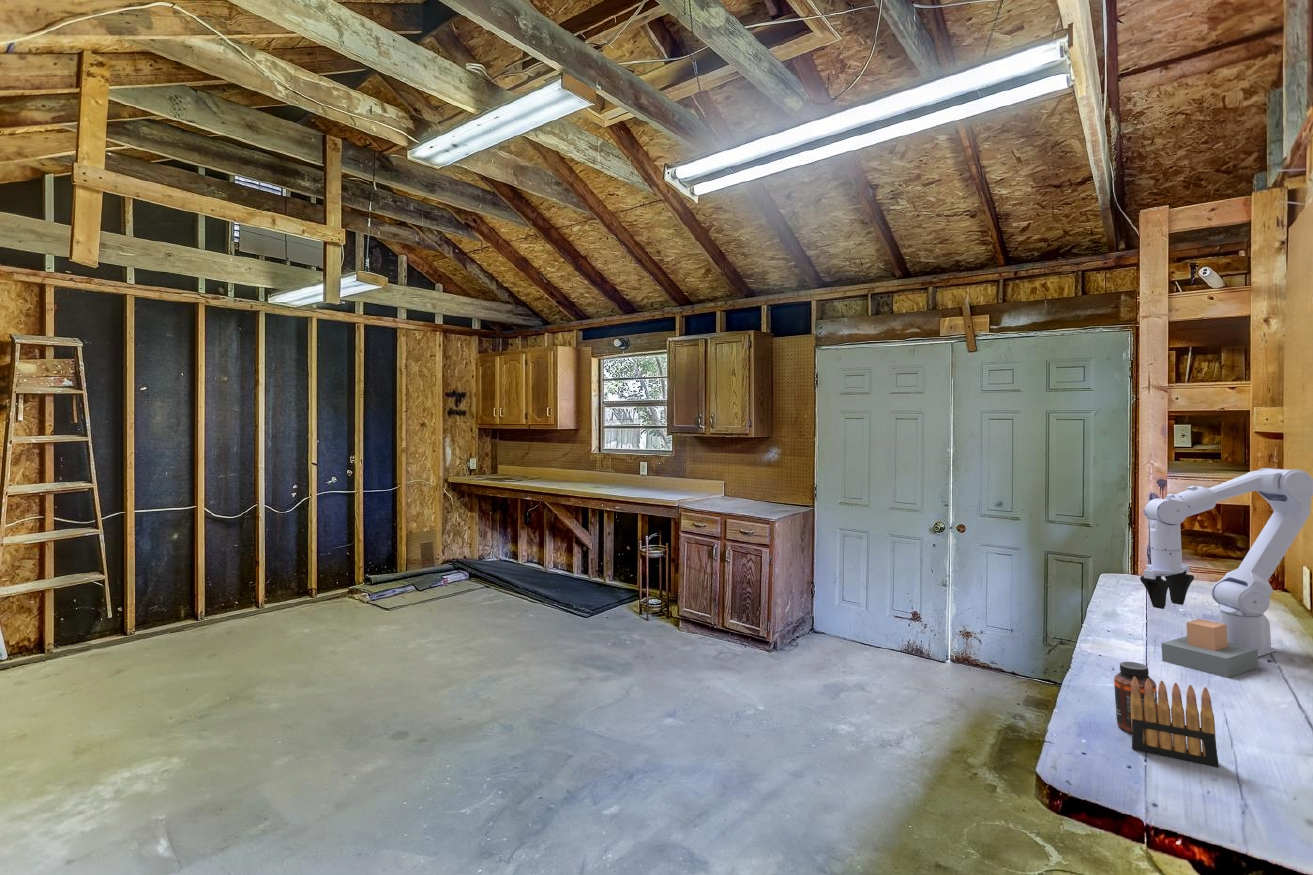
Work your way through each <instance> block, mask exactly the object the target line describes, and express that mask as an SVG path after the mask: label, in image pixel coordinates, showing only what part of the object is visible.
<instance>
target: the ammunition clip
mask: <svg viewBox="0 0 1313 875" xmlns="http://www.w3.org/2000/svg"><path fill="white" fill-rule="evenodd" d="M1158 684H1159V685H1158V689H1157V710H1156V704H1155V699H1154V692H1153V687H1152V684H1151V681H1150V680H1149V679H1147V680H1146V683H1145V690H1144V691H1145V695H1144V716H1143V704H1142V700H1141V694H1140V687H1139V683H1138V680H1137V678H1136V677H1135V676H1134V677H1133V680H1132V684H1131V701H1130V705H1131V723H1132V733H1131V749H1132V750H1133V751H1135V752H1142V753H1146V754H1151V755H1156V756H1160V757H1165V758H1169V759H1174V760H1179V761H1183V762H1184V761H1185V762H1189V763H1193V764H1198V765H1204V766H1208V767H1212V768H1216V769H1219V767H1220V764H1219V756H1218V749H1217V737H1216V725H1215V723H1216V722H1215V715H1214V712H1213V706H1212V699H1211V694H1210V692H1209V691H1210V690H1208V688H1207V686H1204V688H1203V689H1202V692H1201V698H1200V699H1201V700H1200V701H1201V704H1200V707H1201V708H1200V709H1201V710H1200V713H1199V710H1198V704H1197V696H1196V693H1195V689H1194V688H1193V685H1191V684H1189V685H1188V687H1187V690H1186V708H1185V710H1184V707H1183V706H1184V705H1183V700H1182V692H1181V689H1180V686H1179V685H1178V683H1177V682H1174V684H1173V686H1172V690H1171V707H1170V704H1169V699H1168V697H1169V696H1168V691H1167V688H1166V684H1165V683H1164V681H1163V680H1160V682H1159V683H1158ZM1157 713H1158V720H1157ZM1144 729H1145V730H1144ZM1158 731H1159V732H1158Z"/></svg>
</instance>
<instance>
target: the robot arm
mask: <svg viewBox="0 0 1313 875" xmlns="http://www.w3.org/2000/svg"><path fill="white" fill-rule="evenodd" d="M1186 489H1187V490H1184V491H1181V492H1178V493H1175V494H1174V493H1169V494H1166V497H1165V498H1153V499H1151V500H1149V501H1148V503H1146V505H1145V508H1143V509H1142V513H1143V515H1144V517H1145V518H1146V519H1147V520H1148V524H1149V540H1150V541H1149V542H1150V543H1149V544H1150V560H1151V562H1150V564H1146V569H1143V575H1142V576H1139V579H1140V582H1141V583H1142V585H1143V586H1144V588H1145V589H1146V591H1147V593H1148V596H1149V599H1150V602H1151V605H1152V607H1153V608H1155V609H1161V610H1164V609H1165V608H1166V602H1167V594H1168V590H1169V597H1170V601H1171V603H1172V604H1173V605H1174V604H1175V605H1180V606H1183V605H1184V604H1185V600H1186V596H1187V592H1188V590H1189V588H1190V585H1191V584H1192V582H1193V581H1194V580H1195V575H1193V574H1190V565H1189V564H1183V555H1182V554H1183V553H1182V534H1181V532H1182V531H1181V524H1182V523H1183V522H1185V520H1186V518H1189V517H1191V516H1194V515H1198V514H1200V513H1204V512H1206V511H1210V510H1212V509H1215V507H1216V505H1217V502H1219V501H1223V500H1226V499H1230V498H1234V497H1237V496H1240V495H1244V494H1248V493H1252V492H1257V493H1258V494H1259V495H1260V496H1261V497H1262V498H1263V499H1264V500H1265V501H1266V502H1267V503H1268V504H1269V505H1270V507H1271V509H1272V510H1273V512H1272V514H1271V516H1270V518H1269V519H1268V520H1267V522H1266V524H1265V525H1264V527H1263V528H1262V529H1261V531H1260V533H1259V535H1258V536H1257V537H1256V540H1255V541H1254V542H1253V544H1252V545H1251V547H1250V549H1249V550H1248V552H1247V553H1246V555H1245V556H1244V558H1243V559H1242V561H1241V563H1240V564H1239V566H1238V568H1236V569H1233V570H1231V571H1228V572H1226V573H1225V574H1224V576H1223V577H1222V578H1221V579H1220V580H1218V581H1216V582H1215V583H1213V585H1212V587H1211V591H1210V594H1211V597H1212V599H1213V600H1214V601H1215V602H1216V603H1217V604H1218V609H1219V619H1220V620H1219V623H1222V624H1226V626H1227V642H1228V643H1232V644H1237V645H1241V646H1246V647H1251V648H1255V649H1258V658H1259V657H1262V656H1265V655H1267V654H1270V653H1271V654H1272V653H1274V652H1276V651H1278V649H1277V648H1275V647H1272V638H1271V636H1272V635H1271V624H1270V621H1269V619H1268V617H1267V616H1266V615H1265V614H1264V613H1266V612H1267V611H1268V609H1269V607H1270V605H1271V604H1270V602H1271V601H1270V598H1271V596H1272V594H1273V592H1274V589H1273V587H1272V586H1271V584H1270V582H1269V580H1270V579H1271V577H1272V575H1273V574H1274V572H1275V570H1276V569H1277V567H1278V566H1279V564H1280V563H1281V561H1282V559H1283V558H1284V557H1285V555H1286V553H1287V552H1288V550H1289V548H1290V547H1291V545H1292V544H1293V543H1294V541H1295V540H1296V538H1297V536H1298V535H1299V533H1300V531H1301V530H1302V528H1303V527H1304V525H1305V523H1306V522H1307V520H1308V519H1309V518H1310V515H1311V509H1312V498H1313V477H1312V475H1310V474H1309V472H1307V471H1306V470H1302V469H1296V468H1295V469H1285V468H1283V469H1281V468H1270V467H1264V468H1263V467H1262V468H1260V469H1257V470H1252V471H1249V472H1247V473H1245V474H1243V475H1240V476H1238V477H1235V478H1231V479H1230V480H1227V481H1224V482H1221V483H1219V484H1216V485H1214V486H1211V487H1209V488H1207V487H1204V486H1201V485H1200V486H1196V485H1190V486H1187V487H1186ZM1162 577H1164V579H1163V578H1162Z"/></svg>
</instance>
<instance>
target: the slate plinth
mask: <svg viewBox="0 0 1313 875" xmlns="http://www.w3.org/2000/svg"><path fill="white" fill-rule="evenodd" d="M1161 657H1162V658H1161V659H1162V662H1167V663H1170V664H1174V665H1179V666H1182V667H1186V668H1190V669H1193V670H1197V671H1201V672H1205V673H1208V674H1212V675H1216V676H1220V677H1224V678H1231V677H1234V676H1238V675H1240V674H1244V673H1245V672H1250V671H1252V669H1253V670H1255V668H1256V669H1258V668H1257V667H1259V665H1260V664H1259V657H1258V649H1255V648H1251V647H1246V646H1241V645H1237V644H1232V643H1228V647H1226V648H1223V649H1220V650H1216V651H1214V650H1209V649H1205V648H1201V647H1196V646H1192V645H1188V639H1187V635H1185V636H1181V637H1179V638H1175V639H1172V640H1168V641H1164V642H1161Z"/></svg>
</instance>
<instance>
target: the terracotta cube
mask: <svg viewBox="0 0 1313 875" xmlns="http://www.w3.org/2000/svg"><path fill="white" fill-rule="evenodd" d="M1186 636H1187V639H1188V645H1192V646H1196V647H1201V648H1205V649H1209V650H1214V651H1216V650H1220V649H1223V648H1226V647H1228V642H1227V626H1226V624H1222V623H1220V622H1216V621H1212V620H1208V619H1207V620H1206V619H1200V618H1198V619H1194V620H1191V621H1187V622H1186Z"/></svg>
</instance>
